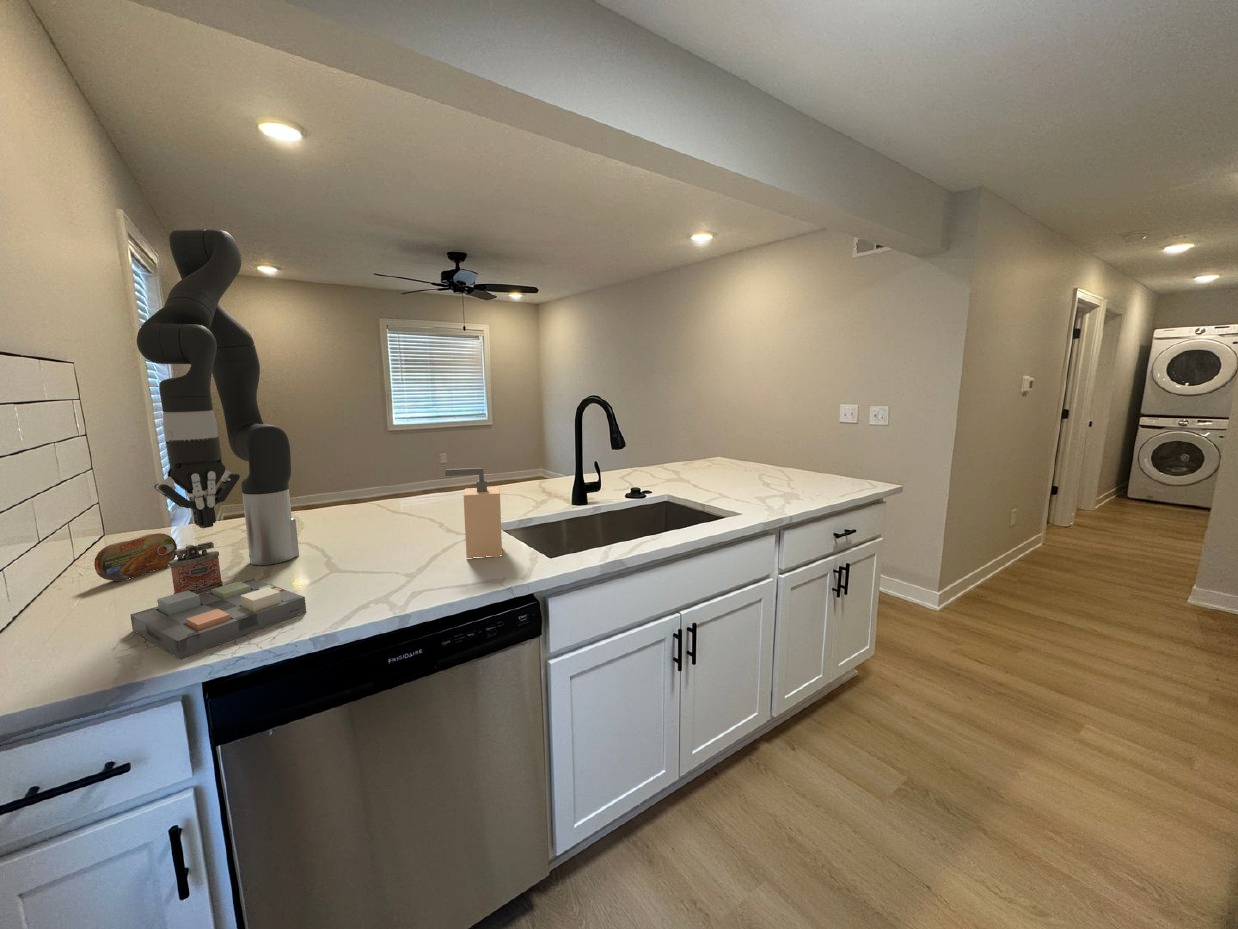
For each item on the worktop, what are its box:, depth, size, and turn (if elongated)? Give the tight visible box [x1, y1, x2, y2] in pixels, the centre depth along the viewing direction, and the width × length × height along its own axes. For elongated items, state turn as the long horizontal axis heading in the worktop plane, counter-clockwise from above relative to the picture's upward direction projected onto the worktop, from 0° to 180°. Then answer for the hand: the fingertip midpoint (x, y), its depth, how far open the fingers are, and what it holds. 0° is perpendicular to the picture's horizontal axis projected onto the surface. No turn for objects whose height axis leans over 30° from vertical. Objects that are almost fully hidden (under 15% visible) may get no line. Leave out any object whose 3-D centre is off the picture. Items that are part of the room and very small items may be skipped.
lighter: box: [168, 541, 224, 595], centre depth 103 cm, size 8×3×10 cm, turn 148°
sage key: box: [212, 581, 251, 599], centre depth 96 cm, size 4×4×2 cm
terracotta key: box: [186, 609, 230, 631], centre depth 84 cm, size 4×4×2 cm
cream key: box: [241, 587, 281, 612], centre depth 90 cm, size 4×4×2 cm
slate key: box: [156, 590, 201, 616], centre depth 89 cm, size 4×4×2 cm
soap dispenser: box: [444, 467, 503, 558], centre depth 126 cm, size 13×9×22 cm
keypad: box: [130, 578, 307, 660], centre depth 90 cm, size 19×19×3 cm
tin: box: [93, 532, 178, 582], centre depth 113 cm, size 15×3×8 cm, turn 168°
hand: (206, 527), depth 94 cm, fingers closed
